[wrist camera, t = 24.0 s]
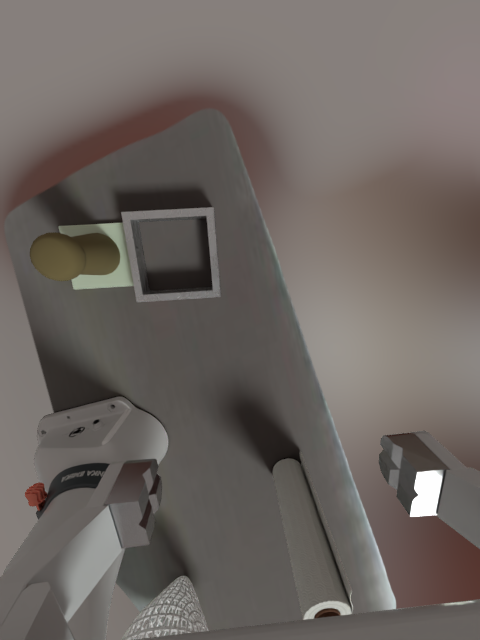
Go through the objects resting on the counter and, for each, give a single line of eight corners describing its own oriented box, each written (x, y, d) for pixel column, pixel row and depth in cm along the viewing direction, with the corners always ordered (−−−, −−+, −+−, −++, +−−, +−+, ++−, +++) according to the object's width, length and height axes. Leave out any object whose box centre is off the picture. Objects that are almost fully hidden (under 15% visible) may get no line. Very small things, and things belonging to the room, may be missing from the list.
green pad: (76, 288, 39) (73, 289, 38) (61, 226, 36) (58, 226, 36) (135, 285, 39) (134, 285, 38) (124, 223, 36) (123, 222, 36)
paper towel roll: (278, 485, 52) (313, 640, 32) (267, 464, 50) (296, 614, 30) (311, 471, 51) (368, 621, 31) (300, 450, 50) (353, 593, 29)
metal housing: (144, 297, 40) (136, 302, 36) (130, 215, 36) (121, 212, 33) (220, 292, 40) (220, 296, 37) (214, 210, 37) (213, 207, 33)
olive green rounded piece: (95, 282, 38) (45, 296, 27) (68, 246, 36) (4, 246, 26) (128, 262, 37) (91, 268, 27) (102, 224, 36) (51, 215, 25)
